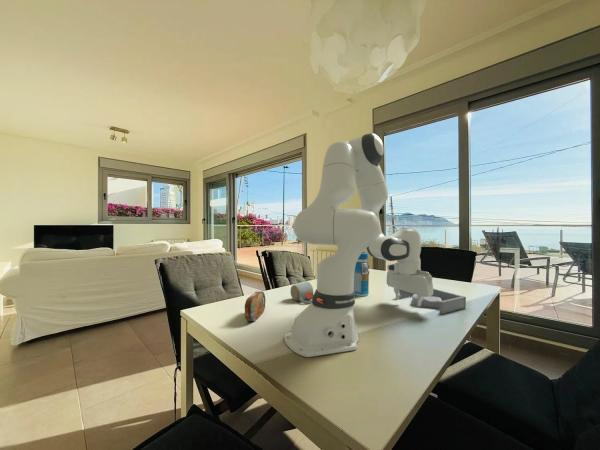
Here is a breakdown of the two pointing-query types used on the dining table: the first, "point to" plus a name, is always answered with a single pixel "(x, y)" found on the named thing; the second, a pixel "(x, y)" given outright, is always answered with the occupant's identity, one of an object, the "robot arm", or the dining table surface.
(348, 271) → the robot arm
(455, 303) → the box
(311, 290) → the ceramic mug
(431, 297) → the stone block
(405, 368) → the dining table surface
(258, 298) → the tin
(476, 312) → the dining table surface
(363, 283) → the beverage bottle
